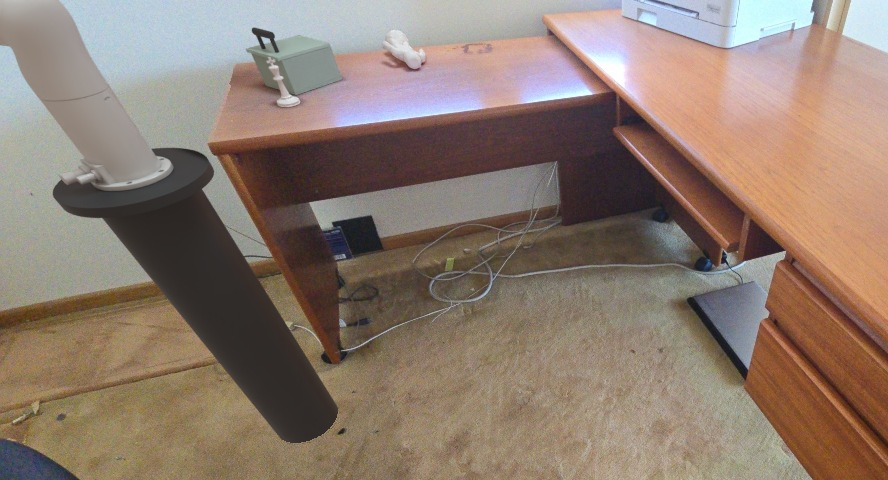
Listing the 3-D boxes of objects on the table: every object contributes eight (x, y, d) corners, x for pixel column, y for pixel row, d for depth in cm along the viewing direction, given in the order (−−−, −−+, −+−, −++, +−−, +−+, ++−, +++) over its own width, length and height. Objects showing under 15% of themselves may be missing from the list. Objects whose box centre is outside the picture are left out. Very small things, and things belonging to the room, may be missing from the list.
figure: (372, 46, 149) (391, 70, 138) (373, 21, 145) (393, 44, 134) (413, 55, 156) (434, 78, 145) (415, 31, 152) (437, 53, 141)
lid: (278, 61, 120) (267, 36, 117) (246, 52, 124) (235, 27, 120) (330, 46, 129) (322, 22, 126) (300, 38, 133) (291, 15, 129)
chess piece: (274, 102, 123) (253, 56, 116) (296, 97, 125) (277, 52, 118) (281, 108, 120) (260, 62, 113) (303, 104, 123) (284, 58, 116)
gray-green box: (296, 95, 126) (281, 60, 121) (265, 85, 130) (250, 51, 124) (342, 79, 135) (330, 46, 129) (312, 71, 139) (300, 38, 133)
